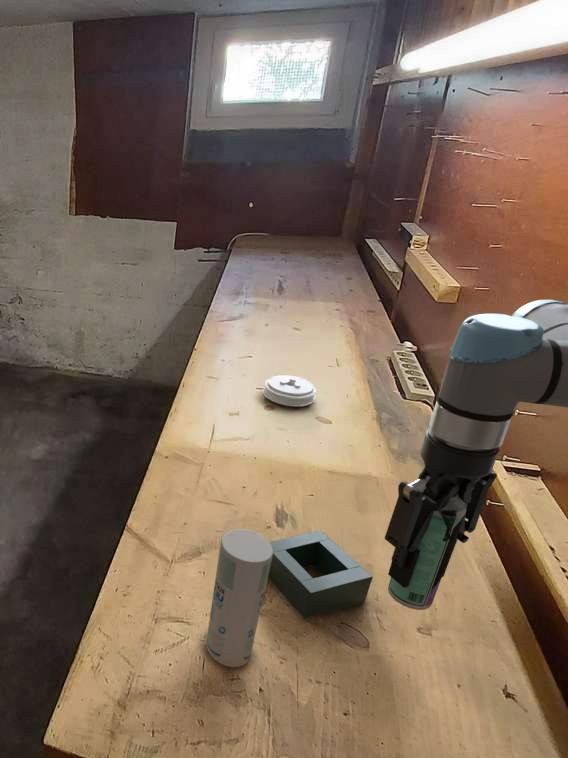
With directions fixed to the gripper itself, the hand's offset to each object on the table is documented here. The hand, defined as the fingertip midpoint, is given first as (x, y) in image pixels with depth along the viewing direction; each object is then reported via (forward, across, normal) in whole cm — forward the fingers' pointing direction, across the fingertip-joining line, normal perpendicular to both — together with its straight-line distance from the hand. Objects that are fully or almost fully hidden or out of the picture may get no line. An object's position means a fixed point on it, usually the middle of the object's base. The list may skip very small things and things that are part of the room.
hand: (415, 575), depth 80 cm
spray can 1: (+11, +26, -4) cm, 29 cm away
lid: (+11, -34, -68) cm, 77 cm away
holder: (+11, +6, -11) cm, 17 cm away
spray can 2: (+4, 0, 0) cm, 4 cm away
